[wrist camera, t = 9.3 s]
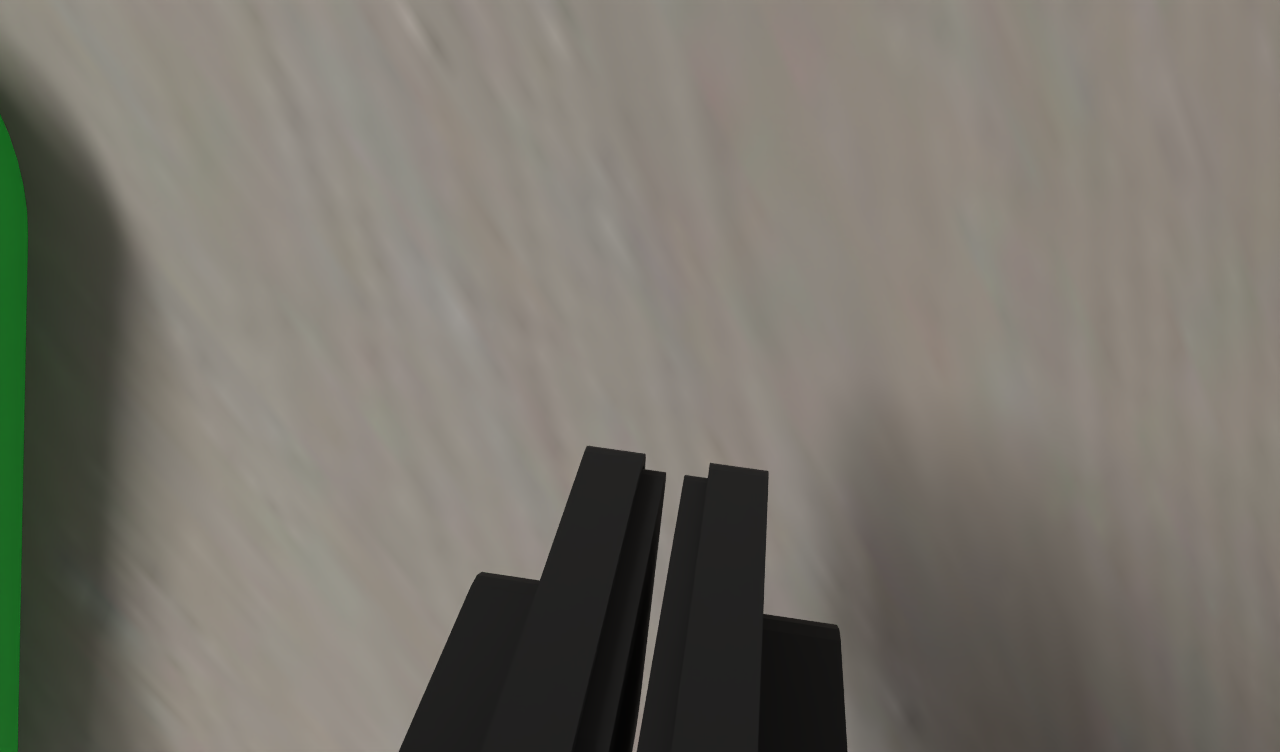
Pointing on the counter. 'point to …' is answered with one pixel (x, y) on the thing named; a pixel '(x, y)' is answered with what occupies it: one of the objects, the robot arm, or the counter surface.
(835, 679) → the robot arm
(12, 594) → the mechanical part
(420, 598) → the counter surface
